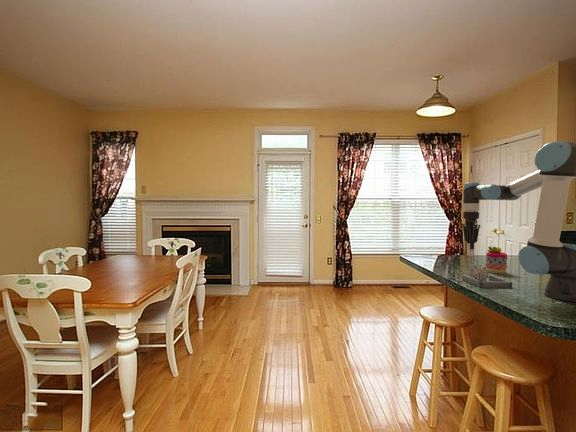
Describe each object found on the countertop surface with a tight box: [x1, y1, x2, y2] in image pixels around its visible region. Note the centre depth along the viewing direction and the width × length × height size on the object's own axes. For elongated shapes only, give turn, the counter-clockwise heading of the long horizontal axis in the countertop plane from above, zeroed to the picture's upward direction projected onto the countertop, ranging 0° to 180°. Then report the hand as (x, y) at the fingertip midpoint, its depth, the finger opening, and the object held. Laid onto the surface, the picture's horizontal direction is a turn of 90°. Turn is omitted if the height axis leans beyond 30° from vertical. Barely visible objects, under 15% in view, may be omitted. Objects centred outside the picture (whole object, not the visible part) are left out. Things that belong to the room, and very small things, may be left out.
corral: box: [461, 274, 513, 288], centre depth 163 cm, size 15×15×2 cm
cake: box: [485, 245, 508, 275], centre depth 191 cm, size 10×11×15 cm
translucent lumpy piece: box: [470, 264, 491, 282], centre depth 167 cm, size 9×8×10 cm
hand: (470, 255), depth 176 cm, fingers closed
